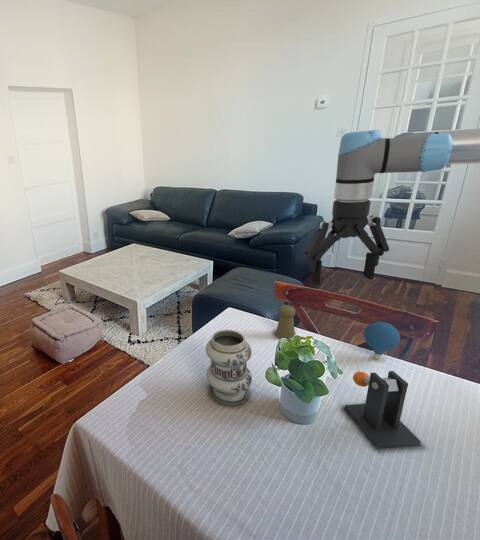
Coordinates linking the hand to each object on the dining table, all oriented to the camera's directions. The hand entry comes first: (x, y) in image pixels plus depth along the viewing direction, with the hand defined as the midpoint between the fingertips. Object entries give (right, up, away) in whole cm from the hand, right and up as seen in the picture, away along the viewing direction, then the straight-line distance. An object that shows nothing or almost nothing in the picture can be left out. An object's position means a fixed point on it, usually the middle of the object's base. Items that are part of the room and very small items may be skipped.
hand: (341, 280), depth 89 cm
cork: (-1, -20, +29) cm, 35 cm away
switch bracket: (+3, -34, -10) cm, 36 cm away
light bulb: (+19, -24, +12) cm, 33 cm away
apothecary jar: (-28, -32, +6) cm, 43 cm away
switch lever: (+2, -26, -9) cm, 27 cm away
